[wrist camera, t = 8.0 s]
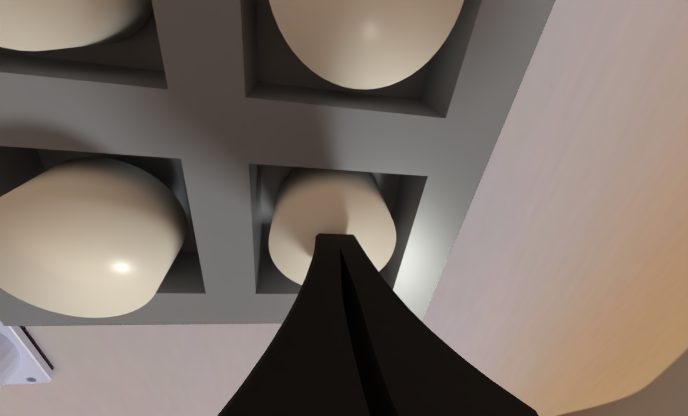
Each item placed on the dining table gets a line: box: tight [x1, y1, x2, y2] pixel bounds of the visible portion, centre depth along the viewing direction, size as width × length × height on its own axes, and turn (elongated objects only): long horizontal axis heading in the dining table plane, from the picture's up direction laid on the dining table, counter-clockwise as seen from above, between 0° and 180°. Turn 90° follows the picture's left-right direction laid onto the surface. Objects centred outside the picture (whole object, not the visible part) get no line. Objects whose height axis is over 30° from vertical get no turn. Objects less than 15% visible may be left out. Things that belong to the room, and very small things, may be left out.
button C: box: [269, 167, 396, 285], centre depth 12 cm, size 5×5×3 cm
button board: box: [0, 0, 555, 326], centre depth 10 cm, size 18×18×3 cm
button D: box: [0, 157, 188, 318], centre depth 10 cm, size 5×5×3 cm
